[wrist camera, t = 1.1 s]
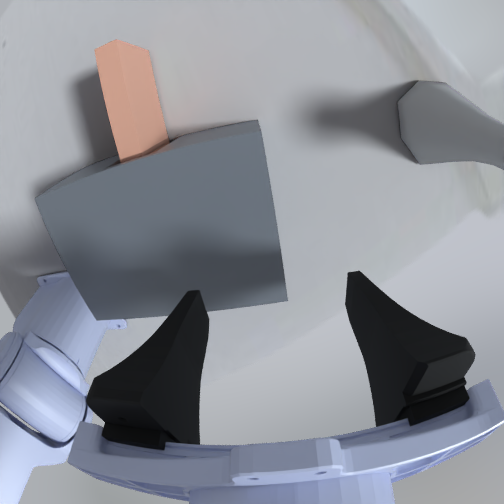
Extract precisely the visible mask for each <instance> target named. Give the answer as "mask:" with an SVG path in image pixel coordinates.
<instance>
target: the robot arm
mask: <svg viewBox="0 0 504 504" xmlns="http://www.w3.org/2000/svg"><path fill="white" fill-rule="evenodd" d="M37 282H38V284H39V286H40V287H39V289H38V290H37V291H36V292H35V294H34V295H33V296H32V298H31V299H30V300H29V302H28V303H27V304H26V306H25V307H24V308H23V310H22V311H21V313H20V314H19V315H18V317H17V318H16V320H15V323H14V327H13V332H9V333H7V334H6V335H5V336H4V337H2V338H1V340H0V402H1V403H2V404H4V405H5V406H6V407H7V408H9V409H10V410H11V411H12V412H13V413H15V414H16V415H17V416H19V417H20V418H21V419H22V420H24V421H25V422H26V423H28V424H29V425H31V426H32V427H33V428H35V429H36V430H37V431H39V432H40V433H38V432H36V431H34V430H31V429H30V428H28V427H27V426H26V425H25V424H23V423H22V422H21V421H19V420H18V419H17V418H15V417H14V416H13V415H11V414H10V413H9V412H8V411H6V410H5V409H4V408H3V407H1V406H0V504H19V501H20V498H21V496H22V493H23V491H24V489H25V486H26V483H27V481H28V479H29V477H30V474H31V472H32V470H33V468H34V467H37V466H46V465H54V464H61V463H64V462H65V461H66V459H67V457H68V456H69V458H68V461H67V462H68V463H69V464H70V465H72V466H74V467H76V468H78V469H79V470H81V471H83V472H85V473H87V474H88V475H90V476H92V477H94V478H96V479H99V480H102V481H105V482H109V483H112V484H115V485H118V486H122V487H125V488H129V489H133V490H136V491H140V492H145V493H148V494H153V495H157V496H162V497H167V498H173V499H178V500H184V501H189V504H395V500H394V495H393V490H392V484H391V483H393V482H396V481H399V480H401V479H404V478H407V477H409V476H412V475H414V474H417V473H419V472H422V471H424V470H426V469H429V468H431V467H433V466H435V465H437V464H440V463H442V462H444V461H446V460H448V459H450V458H452V457H454V456H456V455H458V454H460V453H461V452H464V451H465V450H467V449H469V448H471V447H473V446H475V445H477V444H478V443H480V442H481V441H483V440H484V439H485V438H487V437H488V436H489V435H490V434H491V433H493V432H494V431H495V430H496V429H497V428H499V427H500V426H501V425H502V424H503V423H504V411H503V409H502V406H501V404H500V402H499V399H498V397H497V395H496V393H495V391H494V388H493V386H492V385H491V382H490V380H489V379H487V380H485V381H483V382H481V383H479V384H476V385H474V386H472V387H471V388H469V389H468V390H467V391H466V389H465V386H464V385H466V380H465V378H464V376H465V374H466V373H467V371H468V370H469V368H470V367H471V365H472V364H473V362H474V359H475V352H474V350H473V348H472V347H471V345H470V343H469V342H468V340H467V339H466V338H465V337H461V336H458V335H455V334H452V333H449V332H447V331H445V330H442V329H440V328H437V327H435V326H433V325H431V324H429V323H427V322H425V321H424V320H421V319H420V318H418V317H417V316H415V315H413V314H412V313H410V312H409V311H407V310H406V309H404V308H403V307H401V306H400V305H398V304H397V303H396V302H395V301H393V300H392V299H391V298H389V297H388V296H387V295H386V294H385V293H384V292H383V291H381V290H380V289H379V288H378V287H377V286H376V285H375V284H374V283H372V282H371V281H370V280H369V279H368V278H367V277H366V276H365V275H364V274H363V273H361V272H360V271H355V272H348V277H347V290H346V301H345V305H346V309H347V313H348V317H349V321H350V324H351V326H352V329H353V332H354V334H355V337H356V339H357V342H358V345H359V347H360V350H361V352H362V355H363V358H364V361H365V365H366V369H367V373H368V378H369V383H370V387H371V393H372V399H373V405H374V412H375V421H376V427H374V428H370V429H366V430H362V431H357V432H352V433H348V434H343V435H338V436H332V437H325V438H313V439H306V440H298V441H288V442H278V443H262V444H248V445H200V435H199V434H200V433H199V401H200V382H201V374H202V369H203V363H204V358H205V353H206V347H207V342H208V334H209V317H208V314H207V311H206V308H205V305H204V302H203V299H202V296H201V293H200V290H191V291H187V292H186V294H185V295H184V296H183V298H182V299H181V300H180V302H179V303H178V304H177V306H176V307H175V308H174V310H173V311H172V312H171V314H170V315H169V316H168V317H167V319H166V320H165V321H164V322H163V324H162V325H161V326H160V327H159V328H158V329H157V331H156V332H155V333H154V334H153V335H152V336H151V337H150V338H149V339H148V340H147V341H146V342H145V343H144V344H143V345H142V346H141V347H139V348H138V349H137V350H136V351H135V352H133V353H132V354H131V355H130V356H129V357H127V358H126V359H125V360H123V361H122V362H120V363H119V364H117V365H116V366H114V367H113V368H111V369H110V370H108V371H106V372H104V373H102V374H101V375H99V376H97V377H95V378H94V380H93V382H92V385H91V387H90V390H89V393H88V395H87V392H88V389H89V384H88V383H86V382H85V378H86V375H87V373H88V370H89V368H90V366H91V363H92V361H93V359H94V356H95V354H96V352H97V349H98V347H99V345H100V343H101V341H102V338H103V336H104V334H105V332H106V330H107V329H125V328H126V327H127V323H126V321H125V320H124V319H117V320H100V321H96V319H95V318H94V316H93V314H92V313H91V311H90V310H89V308H88V306H87V305H86V303H85V301H84V300H83V298H82V296H81V295H80V293H79V291H78V289H77V288H76V286H75V284H74V282H73V280H72V279H71V277H70V275H69V273H68V271H66V272H61V273H56V274H50V275H45V276H40V277H38V278H37ZM93 412H94V413H95V414H97V415H98V416H99V417H100V418H101V419H102V420H103V421H104V422H105V425H104V428H103V427H101V426H99V425H96V424H92V417H93Z"/></svg>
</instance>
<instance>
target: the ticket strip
mask: <svg viewBox="0 0 504 504" xmlns="http://www.w3.org/2000/svg"><path fill="white" fill-rule="evenodd" d="M95 55H96V61H97V66H98V72H99V77H100V82H101V86H102V91H103V96H104V100H105V104H106V108H107V113H108V117H109V121H110V125H111V128H112V132H113V136H114V140H115V143H116V147H117V150H118V154H119V157H120V162H121V163H123V162H126V161H129V160H132V159H135V158H138V157H142V156H145V155H148V154H152V153H155V152H157V151H158V150H160V149H161V148H163V147H164V146H166V145H168V144H169V138H168V135H167V131H166V127H165V123H164V119H163V115H162V110H161V106H160V102H159V97H158V93H157V89H156V84H155V80H154V75H153V70H152V66H151V61H150V56H149V51H148V50H146V49H143V48H140V47H137V46H135V45H132V44H129V43H126V42H123V41H120V40H117V39H116V40H114V41H111V42H109V43H107V44H105V45H103V46H101V47H99V48H97V49H95Z"/></svg>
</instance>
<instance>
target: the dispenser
mask: <svg viewBox="0 0 504 504" xmlns="http://www.w3.org/2000/svg"><path fill="white" fill-rule="evenodd" d="M35 201H36V203H37V206H38V209H39V211H40V214H41V216H42V218H43V221H44V223H45V225H46V228H47V230H48V232H49V235H50V237H51V239H52V241H53V243H54V245H55V247H56V250H57V252H58V254H59V256H60V258H61V260H62V262H63V264H64V266H65V267H66V269H67V271H68V273H69V275H70V277H71V279H72V280H73V282H74V284H75V286H76V288H77V289H78V291H79V293H80V295H81V296H82V298H83V300H84V301H85V303H86V305H87V306H88V308H89V310H90V311H91V313H92V314H93V316H94V318H95V319H96V321H100V320H117V319H132V318H145V317H158V316H169V315H170V314H171V312H172V311H173V310H174V308H175V307H176V306H177V304H178V303H179V302H180V300H181V299H182V298H183V296H184V295H185V294H186V292H187V291H191V290H200V293H201V296H202V299H203V302H204V305H205V308H206V311H207V312H208V311H217V310H225V309H233V308H241V307H249V306H256V305H263V304H270V303H277V302H284V301H288V298H287V290H286V283H285V276H284V269H283V262H282V255H281V248H280V242H279V235H278V228H277V222H276V216H275V209H274V203H273V197H272V191H271V185H270V179H269V173H268V167H267V161H266V155H265V150H264V144H263V138H262V133H261V129H260V126H259V123H258V120H254V121H248V122H243V123H237V124H232V125H227V126H222V127H217V128H213V129H208V130H204V131H199V132H195V133H191V134H187V135H183V136H181V137H179V138H177V139H176V140H174V141H172V142H171V143H169V144H168V145H166V146H164V147H163V148H161V149H160V150H158V151H157V152H155V153H152V154H148V155H145V156H142V157H138V158H135V159H132V160H129V161H126V162H123V163H121V162H120V157H119V155H117V156H114V157H111V158H108V159H105V160H103V161H100V162H97V163H95V164H92V165H89V166H87V167H85V168H83V169H81V170H79V171H78V172H76V173H74V174H72V175H71V176H69V177H67V178H66V179H64V180H63V181H61V182H59V183H58V184H56V185H54V186H53V187H51V188H50V189H48V190H47V191H45V192H44V193H42V194H41V195H39V196H38V197H36V198H35Z"/></svg>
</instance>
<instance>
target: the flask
mask: <svg viewBox="0 0 504 504" xmlns="http://www.w3.org/2000/svg"><path fill="white" fill-rule="evenodd" d="M397 103H398V111H399V120H400V130H401V139H402V140H403V141H404V143H405V144H406V145H407V147H408V148H409V149H410V151H411V152H412V154H413V155H414V156H415V158H416V159H417V161H418V162H419V164H433V163H444V162H459V161H476V162H481V163H486V164H491V165H494V166H496V167H499V168H501V169H503V170H504V124H503V123H502V122H500V121H498V120H497V119H495V118H493V117H491V116H489V115H488V114H487V113H485V112H484V111H483V110H482V109H480V108H479V107H478V106H476V105H475V104H474V103H472V102H471V101H470V100H468V99H467V98H466V97H464V96H463V95H462V94H461V93H459V92H458V91H457V90H455V89H454V88H453V87H451V86H450V85H448V84H447V83H443V82H430V81H418V82H417V83H416V84H415V85H414V86H413V87H412V88H411V89H410V90H409V91H408V92H407V93H406V94H405V95H404V96H403V97H402V98H401V99H400V100H399V101H398V102H397Z"/></svg>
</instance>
